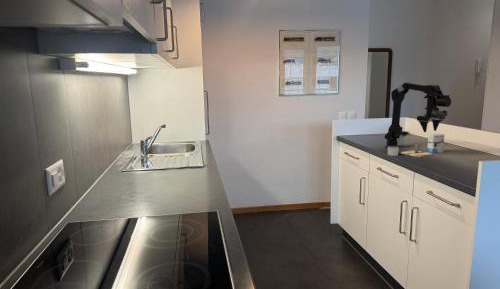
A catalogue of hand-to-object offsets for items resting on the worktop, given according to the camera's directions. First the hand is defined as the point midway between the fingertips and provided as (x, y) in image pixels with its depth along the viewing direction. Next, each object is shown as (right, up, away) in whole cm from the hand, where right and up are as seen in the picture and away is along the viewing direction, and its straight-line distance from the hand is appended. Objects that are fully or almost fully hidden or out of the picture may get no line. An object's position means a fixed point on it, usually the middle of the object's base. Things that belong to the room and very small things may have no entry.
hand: (430, 131), depth 219 cm
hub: (-20, -14, +6) cm, 26 cm away
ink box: (+9, -13, +11) cm, 19 cm away
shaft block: (-6, -14, +6) cm, 16 cm away
